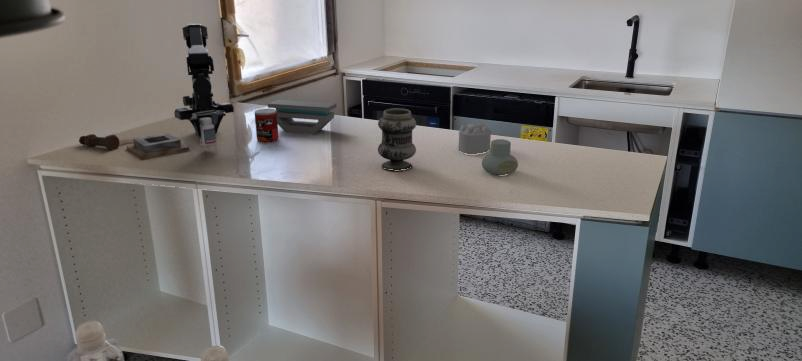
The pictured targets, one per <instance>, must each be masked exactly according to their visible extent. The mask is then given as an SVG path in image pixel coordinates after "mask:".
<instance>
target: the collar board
mask: <svg viewBox="0 0 802 361" xmlns="http://www.w3.org/2000/svg"><path fill="white" fill-rule="evenodd" d="M132 140H133V144H129V145H126V149H127V150H128V151H129V152H131V153H132V154H134V155H135V156H136V157H138V158H139V159H141V160H145V159H146V160H147V159H151V158H156V157H162V156H166V155H173V154H177V153H183V152H188V151H190V146H188V145H186V144H185V143H183V142H181V139H179V138H178V137H176V136H174V135H172V134H171V133H168V132H167V133H161V134H154V135H149V136H142V137H136V138H132Z"/></svg>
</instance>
